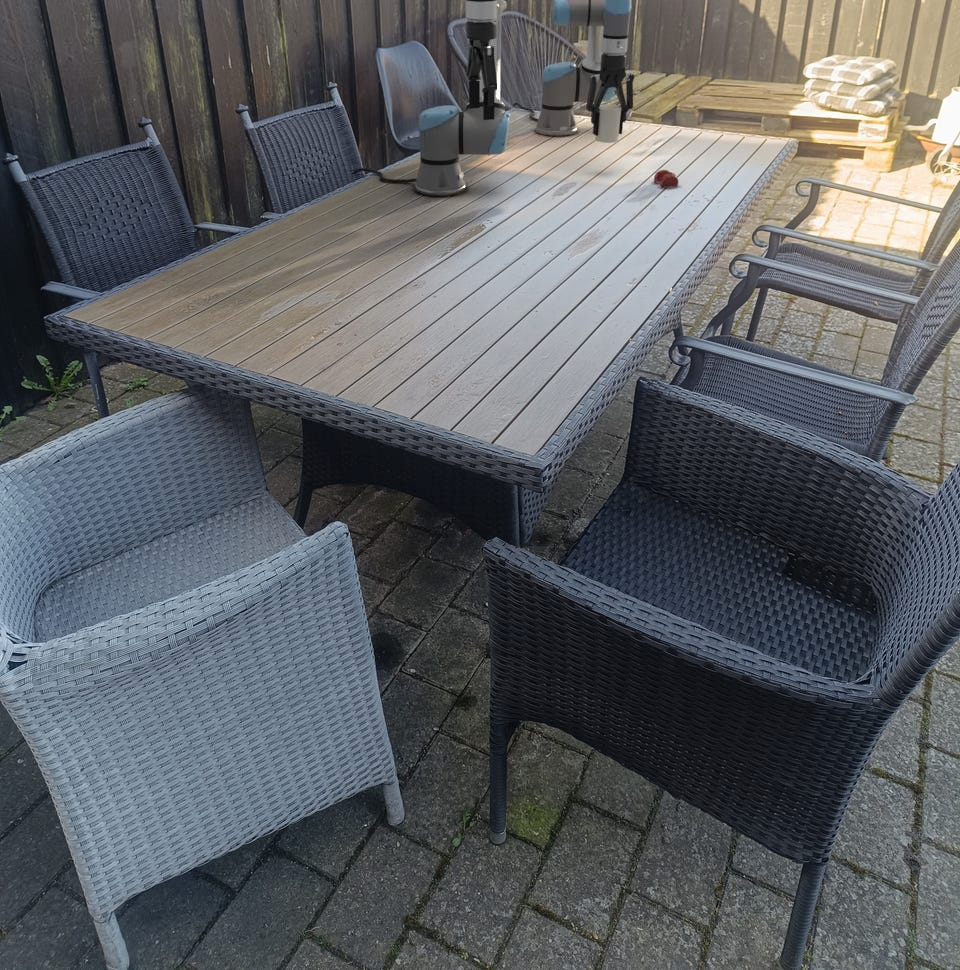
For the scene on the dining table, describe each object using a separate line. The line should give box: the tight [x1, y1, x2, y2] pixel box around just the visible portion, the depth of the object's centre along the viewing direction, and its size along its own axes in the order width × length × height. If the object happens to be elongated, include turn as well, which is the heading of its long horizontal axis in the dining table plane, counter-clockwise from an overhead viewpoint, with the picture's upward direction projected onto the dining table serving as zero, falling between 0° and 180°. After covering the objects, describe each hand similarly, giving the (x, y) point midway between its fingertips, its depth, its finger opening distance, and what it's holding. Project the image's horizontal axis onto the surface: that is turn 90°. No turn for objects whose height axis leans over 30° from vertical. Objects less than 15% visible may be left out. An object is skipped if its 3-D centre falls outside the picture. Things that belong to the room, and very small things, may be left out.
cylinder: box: [594, 103, 622, 144], centre depth 264 cm, size 7×7×10 cm
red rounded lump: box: [653, 169, 679, 188], centre depth 261 cm, size 6×4×8 cm
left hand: (481, 113), depth 217 cm, fingers open, 13 cm apart
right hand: (607, 133), depth 266 cm, fingers closed on cylinder, 7 cm apart
